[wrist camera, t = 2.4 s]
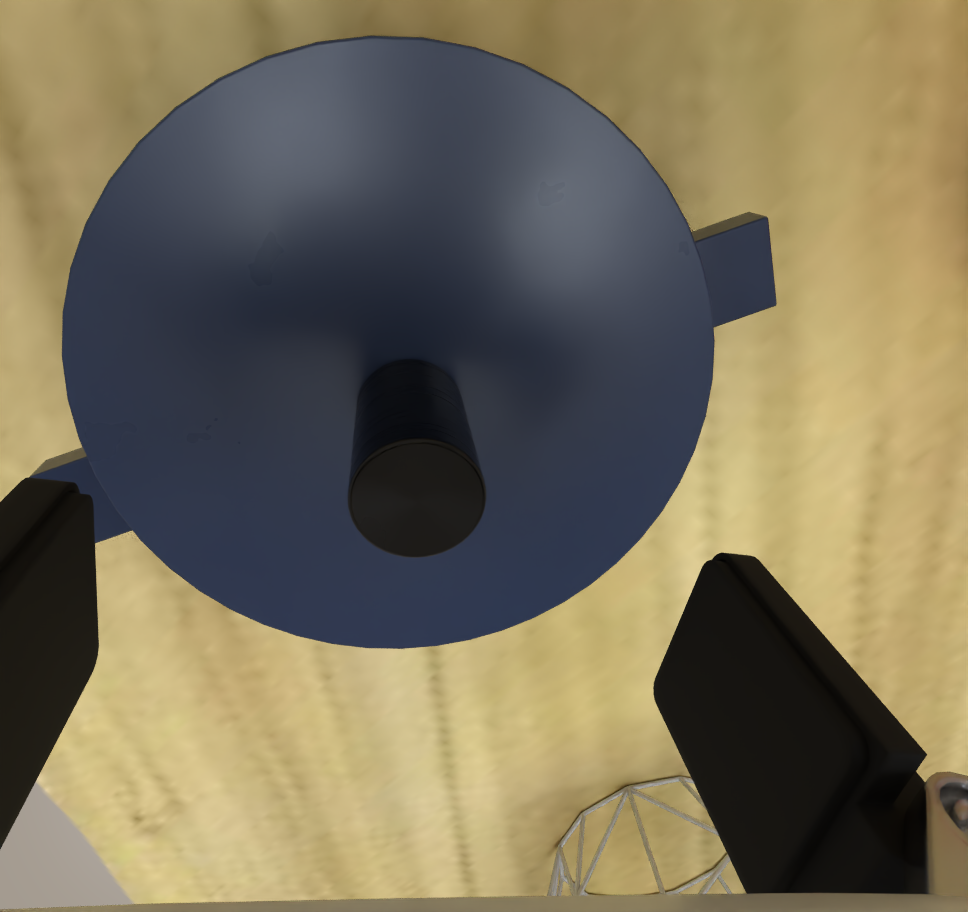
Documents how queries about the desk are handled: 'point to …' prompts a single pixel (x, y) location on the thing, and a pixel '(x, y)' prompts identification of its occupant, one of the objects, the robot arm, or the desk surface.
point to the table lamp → (627, 791)
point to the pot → (734, 294)
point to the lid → (388, 342)
